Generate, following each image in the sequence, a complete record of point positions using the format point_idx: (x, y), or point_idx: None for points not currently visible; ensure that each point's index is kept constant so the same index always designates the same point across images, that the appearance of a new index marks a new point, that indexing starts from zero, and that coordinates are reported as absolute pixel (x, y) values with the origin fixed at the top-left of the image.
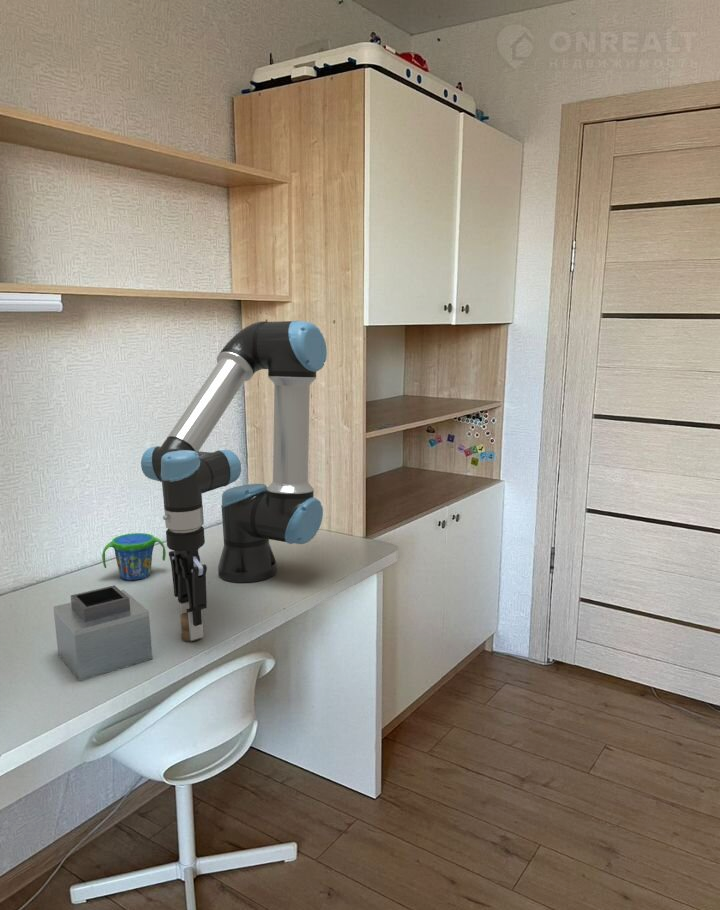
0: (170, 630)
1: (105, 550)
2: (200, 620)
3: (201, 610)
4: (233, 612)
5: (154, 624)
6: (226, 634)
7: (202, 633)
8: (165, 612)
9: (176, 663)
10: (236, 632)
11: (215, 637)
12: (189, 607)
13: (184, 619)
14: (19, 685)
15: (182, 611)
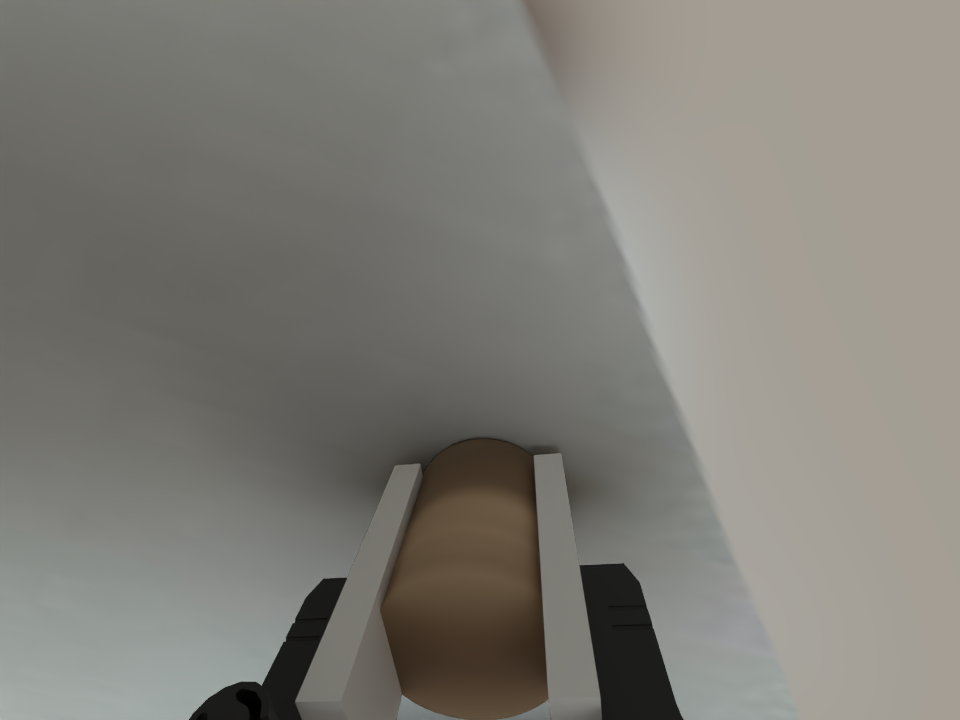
0: (308, 557)
1: None
2: (645, 613)
3: (594, 660)
4: (137, 29)
5: (183, 598)
6: (574, 268)
7: (562, 475)
8: (11, 502)
9: (771, 657)
10: (588, 175)
11: (575, 361)
12: (373, 679)
13: (528, 702)
14: None
15: (394, 710)
